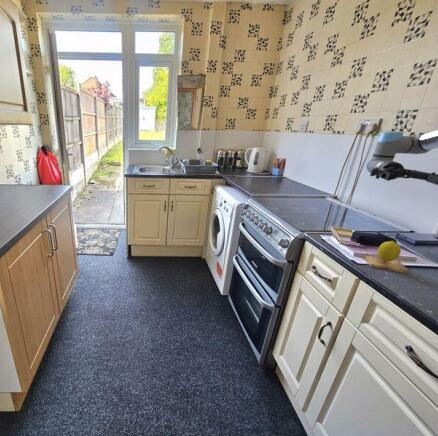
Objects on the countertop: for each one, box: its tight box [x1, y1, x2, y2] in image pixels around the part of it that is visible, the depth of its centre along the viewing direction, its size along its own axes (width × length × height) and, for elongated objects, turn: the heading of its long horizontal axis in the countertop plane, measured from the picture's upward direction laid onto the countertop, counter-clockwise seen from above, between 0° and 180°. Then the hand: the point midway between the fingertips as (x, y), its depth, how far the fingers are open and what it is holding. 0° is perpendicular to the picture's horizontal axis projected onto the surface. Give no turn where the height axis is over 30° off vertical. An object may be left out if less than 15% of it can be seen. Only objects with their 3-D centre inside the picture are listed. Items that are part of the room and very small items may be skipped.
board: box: [364, 256, 410, 274], centre depth 87 cm, size 10×8×1 cm
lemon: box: [377, 240, 402, 262], centre depth 85 cm, size 6×6×8 cm
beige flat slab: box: [329, 225, 360, 245], centre depth 107 cm, size 9×17×1 cm, turn 156°
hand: (414, 179), depth 89 cm, fingers open, 13 cm apart
